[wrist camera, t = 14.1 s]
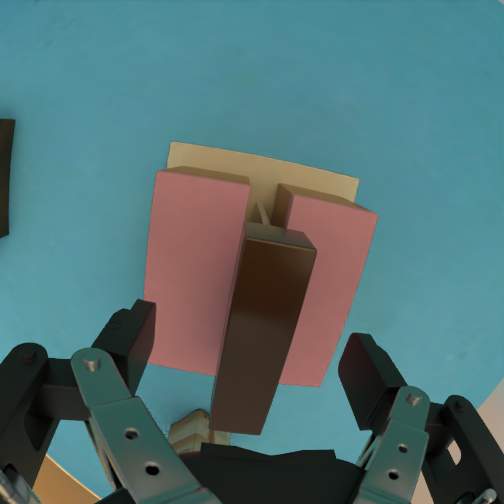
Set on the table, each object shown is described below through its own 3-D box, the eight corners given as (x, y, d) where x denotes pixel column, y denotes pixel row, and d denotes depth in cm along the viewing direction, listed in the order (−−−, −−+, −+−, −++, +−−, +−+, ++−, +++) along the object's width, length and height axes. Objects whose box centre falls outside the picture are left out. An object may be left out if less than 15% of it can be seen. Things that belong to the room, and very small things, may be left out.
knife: (243, 191, 20) (243, 236, 10) (278, 198, 21) (319, 250, 10) (220, 312, 23) (207, 430, 12) (252, 317, 23) (260, 436, 12)
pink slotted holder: (172, 141, 20) (141, 136, 13) (357, 178, 21) (402, 190, 14) (151, 323, 24) (126, 376, 17) (309, 347, 25) (327, 404, 18)
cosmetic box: (199, 406, 27) (187, 494, 17) (231, 427, 28) (230, 511, 18) (166, 426, 28) (149, 506, 18) (197, 446, 29) (189, 522, 19)
